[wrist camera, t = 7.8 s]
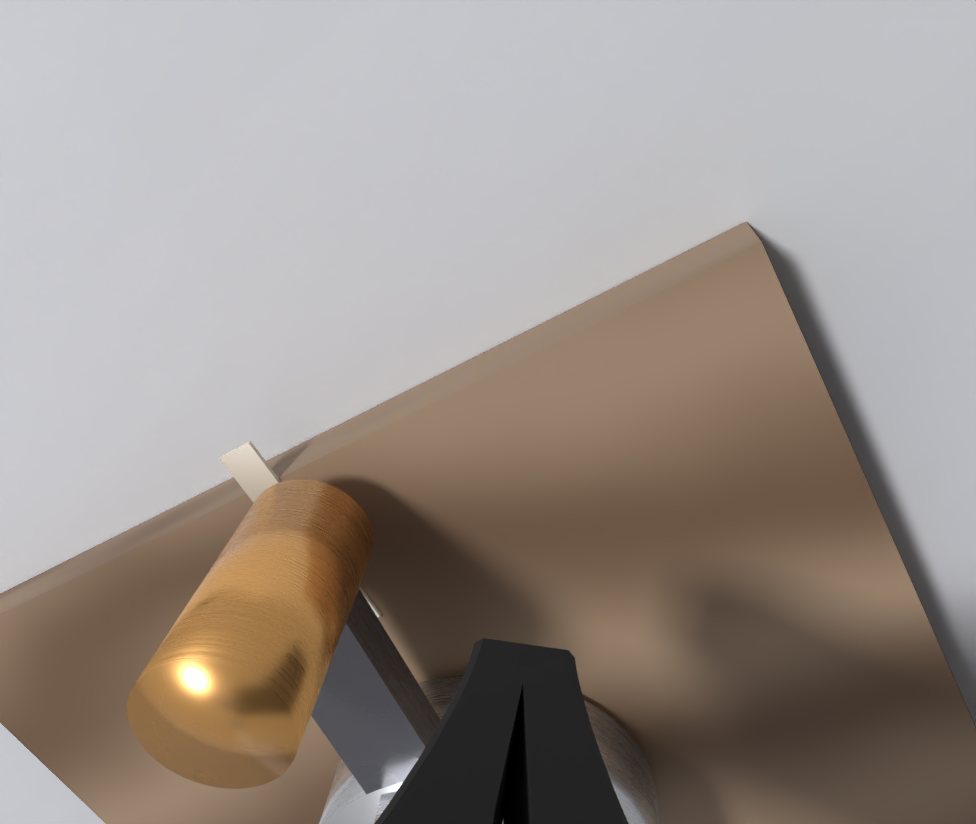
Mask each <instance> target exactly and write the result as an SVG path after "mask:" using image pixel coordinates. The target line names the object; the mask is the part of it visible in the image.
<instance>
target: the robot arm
mask: <svg viewBox="0 0 976 824" xmlns="http://www.w3.org/2000/svg"><path fill="white" fill-rule="evenodd" d="M502 823H503V824H629V823H628V821H627V819H626V816H625V814H624V812H623V809H622V807H621V805H620V802H619V800H618V797H617V795H616V792H615V790H614V787H613V785H612V782H611V779H610V777H609V774H608V771H607V769H606V766H605V763H604V761H603V758H602V755H601V753H600V750H599V747H598V744H597V741H596V738H595V736H594V733H593V729H592V726H591V723H590V720H589V716H588V713H587V710H586V707H585V703H584V699H583V695H582V692H581V688H580V683H579V679H578V674H577V669H576V663H575V657H574V656H573V655H572V654H571V653H570V651H569V650H564V649H557V648H550V647H543V646H536V645H529V644H521V643H514V642H507V641H500V640H493V639H486V638H483V639H481V640H479V641H477V642H476V643H474V647H473V650H472V654H471V657H470V660H469V663H468V665H467V668H466V670H465V673H464V675H463V677H462V680H461V682H460V684H459V686H458V688H457V690H456V692H455V694H454V696H453V698H452V700H451V702H450V704H449V706H448V708H447V710H446V712H445V714H444V716H443V717H442V719H441V721H440V723H439V724H438V726H437V728H436V730H435V731H434V733H433V735H432V737H431V739H430V740H429V742H428V744H427V746H426V747H425V749H424V751H423V752H422V754H421V756H420V757H419V759H418V760H417V762H416V763H415V765H414V766H413V768H412V769H411V771H410V772H409V774H408V775H407V777H406V778H405V780H404V781H403V783H402V784H401V786H400V787H399V789H398V791H397V792H396V794H395V795H394V797H393V798H392V800H391V801H390V803H389V804H388V805H387V807H386V808H385V810H384V811H383V812H382V814H381V815H380V816H379V818H378V819H377V821H376V822H375V823H374V824H502Z"/></svg>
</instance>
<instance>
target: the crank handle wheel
mask: <svg viewBox="0 0 976 824" xmlns="http://www.w3.org/2000/svg"><path fill="white" fill-rule="evenodd" d="M373 550H374V533H373V528H372V525H371V523H370V520H369V518H368V516H367V515H366V513H365V512H364V510H363V509H362V508H361V506H360V505H359V504H358V503H357V502H356V501H355V500H354V499H353V498H352V497H350V496H349V495H348V494H346V493H345V492H343V491H342V490H340V489H338V488H336V487H334V486H332V485H330V484H327V483H324V482H320V481H316V480H310V479H292V480H286V481H283V482H279V483H277V484H275V485H272V486H271V487H269V488H268V489H266V490H265V491H264V492H262V493H261V494H260V495H259V497H258V498H257V499H256V500H255V502H254V503H253V505H252V507H251V508H250V510H249V511H248V513H247V514H246V516H245V517H244V519H243V520H242V522H241V523H240V525H239V526H238V528H237V529H236V531H235V532H234V534H233V535H232V537H231V538H230V540H229V542H228V543H227V545H226V546H225V548H224V549H223V551H222V552H221V554H220V555H219V557H218V558H217V560H216V561H215V563H214V564H213V566H212V567H211V569H210V570H209V572H208V573H207V575H206V576H205V578H204V580H203V581H202V583H201V584H200V586H199V587H198V589H197V590H196V592H195V593H194V595H193V596H192V598H191V599H190V601H189V602H188V604H187V605H186V607H185V608H184V610H183V611H182V613H181V615H180V616H179V618H178V619H177V621H176V622H175V624H174V625H173V627H172V628H171V630H170V631H169V633H168V634H167V636H166V637H165V639H164V640H163V642H162V643H161V645H160V646H159V648H158V650H157V651H156V653H155V654H154V656H153V657H152V659H151V660H150V662H149V663H148V665H147V666H146V668H145V669H144V671H143V672H142V674H141V675H140V677H139V678H138V680H137V681H136V683H135V685H134V686H133V688H132V690H131V691H130V694H129V697H128V703H127V715H128V720H129V724H130V726H131V729H132V731H133V733H134V735H135V737H136V738H137V740H138V741H139V743H140V744H141V745H142V747H143V748H144V749H145V750H146V751H147V752H148V753H149V754H150V755H151V756H152V757H153V758H154V759H155V760H156V761H157V762H159V763H160V764H162V765H163V766H164V767H166V768H167V769H169V770H171V771H172V772H174V773H176V774H178V775H180V776H182V777H184V778H186V779H189V780H191V781H194V782H197V783H200V784H203V785H207V786H212V787H217V788H226V789H243V788H251V787H256V786H260V785H263V784H266V783H268V782H271V781H273V780H275V779H276V778H278V777H279V776H281V775H282V774H283V773H284V772H285V771H286V770H287V769H288V768H289V767H290V765H291V764H292V762H293V760H294V758H295V756H296V753H297V751H298V748H299V746H300V743H301V740H302V738H303V735H304V732H305V730H306V727H307V725H308V722H309V719H310V717H311V716H312V717H313V719H314V720H315V722H316V723H317V724H318V726H319V727H320V729H321V730H322V732H323V733H324V734H325V736H326V737H327V739H328V740H329V742H330V743H331V744H332V746H333V747H334V749H335V750H336V752H337V753H338V754H339V756H340V760H339V764H338V767H337V770H336V773H335V776H334V779H333V782H332V785H331V789H330V792H329V795H328V798H327V801H326V804H325V807H324V810H323V814H322V817H321V820H320V823H319V824H374V823H375V822H376V821H377V819H378V818H379V816H380V815H381V814H382V812H383V811H384V810H385V808H386V807H387V805H388V804H389V803H390V801H391V800H392V798H393V797H394V795H395V794H396V792H397V791H398V789H399V787H400V786H401V784H402V783H403V781H404V780H405V778H406V777H407V775H408V774H409V772H410V771H411V769H412V768H413V766H414V765H415V763H416V762H417V760H418V759H419V757H420V756H421V754H422V752H423V751H424V749H425V747H426V746H427V744H428V742H429V740H430V739H431V737H432V735H433V733H434V731H435V730H436V728H437V726H438V724H439V723H440V721H441V719H442V717H443V716H444V714H445V712H446V710H447V708H448V706H449V704H450V702H451V700H452V698H453V696H454V694H455V692H456V690H457V688H458V686H459V684H460V682H461V680H462V677H463V675H457V676H447V677H442V678H437V679H432V680H428V681H424V682H421V683H418V682H417V681H416V679H415V677H414V676H413V674H412V673H411V671H410V669H409V668H408V666H407V665H406V663H405V661H404V660H403V658H402V656H401V655H400V653H399V652H398V650H397V648H396V647H395V645H394V644H393V642H392V640H391V639H390V637H389V635H388V634H387V632H386V631H385V629H384V627H383V626H382V624H381V623H380V621H379V619H378V618H377V616H376V614H375V613H374V611H373V610H372V608H371V606H370V605H369V603H368V601H367V600H366V598H365V597H364V595H363V593H362V592H361V590H360V589H359V588H360V585H361V583H362V580H363V577H364V575H365V572H366V570H367V567H368V564H369V562H370V559H371V556H372V553H373ZM584 703H585V707H586V710H587V713H588V716H589V720H590V723H591V726H592V729H593V733H594V736H595V738H596V741H597V744H598V747H599V750H600V753H601V755H602V758H603V761H604V763H605V766H606V769H607V771H608V774H609V777H610V779H611V782H612V785H613V787H614V790H615V792H616V795H617V797H618V800H619V802H620V805H621V807H622V809H623V812H624V814H625V816H626V819H627V821H628V823H629V824H659V814H658V803H657V793H656V786H655V782H654V777H653V773H652V771H651V768H650V766H649V763H648V761H647V759H646V757H645V756H644V754H643V752H642V751H641V749H640V747H639V746H638V744H637V743H636V742H635V741H634V740H633V738H632V737H631V736H630V735H629V734H628V732H627V731H626V730H625V729H623V728H622V727H621V726H620V725H619V724H618V723H617V722H616V721H615V720H614V719H613V718H611V717H610V716H608V715H607V714H606V713H604V712H603V711H601V710H600V709H599V708H597V707H596V706H594V705H592V704H590V703H588V702H587V701H585V700H584ZM502 824H503V823H502Z"/></svg>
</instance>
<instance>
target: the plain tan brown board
mask: <svg viewBox="0 0 976 824" xmlns="http://www.w3.org/2000/svg"><path fill="white" fill-rule="evenodd" d="M219 459H220V460H221V462H222V463H223V464H224V466H225V467H226V468H227V469H228V471H229V472H230V473H231V474H232V476H233V477H234V478H232V479H230V480H228V481H226V482H224V483H222V484H220V485H218V486H216V487H214V488H212V489H210V490H208V491H206V492H204V493H202V494H200V495H198V496H196V497H194V498H192V499H190V500H188V501H186V502H184V503H182V504H180V505H178V506H176V507H174V508H172V509H170V510H168V511H166V512H164V513H162V514H160V515H158V516H156V517H154V518H152V519H150V520H148V521H146V522H144V523H142V524H139V525H137V526H135V527H133V528H131V529H129V530H127V531H125V532H123V533H121V534H119V535H117V536H115V537H113V538H111V539H109V540H107V541H105V542H103V543H101V544H99V545H97V546H95V547H93V548H91V549H89V550H87V551H85V552H83V553H81V554H79V555H77V556H75V557H73V558H71V559H69V560H67V561H65V562H63V563H61V564H59V565H57V566H55V567H53V568H51V569H49V570H47V571H45V572H43V573H41V574H39V575H37V576H35V577H33V578H31V579H29V580H27V581H25V582H23V583H21V584H19V585H17V586H15V587H13V588H11V589H9V590H7V591H5V592H3V593H1V594H0V723H1V724H2V725H3V726H4V727H5V728H6V729H7V730H9V731H10V732H11V733H12V734H13V735H14V736H15V737H16V738H17V739H18V740H19V741H20V742H21V743H22V744H23V745H24V746H25V747H26V748H27V749H28V750H29V751H30V752H32V753H33V754H34V755H35V756H36V757H37V758H38V759H39V760H40V761H41V762H42V763H43V764H44V765H45V766H46V767H47V768H48V769H49V770H50V771H51V772H52V773H54V774H55V775H56V776H57V777H58V778H59V779H60V780H61V781H62V782H63V783H64V784H65V785H66V786H67V787H68V788H69V789H70V790H71V791H72V792H73V793H74V794H75V795H77V796H78V797H79V798H80V799H81V800H82V801H83V802H84V803H85V804H86V805H87V806H88V807H89V808H90V809H91V810H92V811H93V812H94V813H95V814H96V815H97V816H98V817H100V818H101V819H102V820H103V821H104V822H105V823H106V824H319V823H320V820H321V817H322V814H323V810H324V807H325V804H326V801H327V798H328V795H329V792H330V789H331V785H332V782H333V779H334V776H335V773H336V770H337V767H338V764H339V760H340V756H339V754H338V753H337V752H336V750H335V749H334V747H333V746H332V744H331V743H330V742H329V740H328V739H327V737H326V736H325V734H324V733H323V732H322V730H321V729H320V727H319V726H318V724H317V723H316V722H315V720H314V719H313V717H312V716H311V717H310V719H309V722H308V725H307V727H306V730H305V732H304V735H303V738H302V740H301V743H300V746H299V748H298V751H297V753H296V756H295V758H294V760H293V762H292V764H291V765H290V767H289V768H288V769H287V770H286V771H285V772H284V773H283V774H282V775H281V776H279V777H278V778H276V779H275V780H273V781H271V782H268V783H266V784H263V785H260V786H256V787H251V788H243V789H226V788H217V787H212V786H207V785H203V784H200V783H197V782H194V781H191V780H189V779H186V778H184V777H182V776H180V775H178V774H176V773H174V772H172V771H171V770H169V769H167V768H166V767H164V766H163V765H162V764H160V763H159V762H157V761H156V760H155V759H154V758H153V757H152V756H151V755H150V754H149V753H148V752H147V751H146V750H145V749H144V748H143V747H142V745H141V744H140V743H139V741H138V740H137V738H136V737H135V735H134V733H133V731H132V729H131V726H130V724H129V720H128V715H127V703H128V697H129V694H130V691H131V690H132V688H133V686H134V685H135V683H136V681H137V680H138V678H139V677H140V675H141V674H142V672H143V671H144V669H145V668H146V666H147V665H148V663H149V662H150V660H151V659H152V657H153V656H154V654H155V653H156V651H157V650H158V648H159V646H160V645H161V643H162V642H163V640H164V639H165V637H166V636H167V634H168V633H169V631H170V630H171V628H172V627H173V625H174V624H175V622H176V621H177V619H178V618H179V616H180V615H181V613H182V611H183V610H184V608H185V607H186V605H187V604H188V602H189V601H190V599H191V598H192V596H193V595H194V593H195V592H196V590H197V589H198V587H199V586H200V584H201V583H202V581H203V580H204V578H205V576H206V575H207V573H208V572H209V570H210V569H211V567H212V566H213V564H214V563H215V561H216V560H217V558H218V557H219V555H220V554H221V552H222V551H223V549H224V548H225V546H226V545H227V543H228V542H229V540H230V538H231V537H232V535H233V534H234V532H235V531H236V529H237V528H238V526H239V525H240V523H241V522H242V520H243V519H244V517H245V516H246V514H247V513H248V511H249V510H250V508H251V507H252V505H253V503H254V502H255V500H256V499H257V498H258V497H259V495H260V494H261V493H262V492H264V491H265V490H266V489H268V488H269V487H271V486H272V485H275V484H277V483H279V482H283V481H286V480H292V479H310V480H316V481H320V482H324V483H327V484H330V485H332V486H334V487H336V488H338V489H340V490H342V491H343V492H345V493H346V494H348V495H349V496H350V497H352V498H353V499H354V500H355V501H356V502H357V503H358V504H359V505H360V506H361V508H362V509H363V510H364V512H365V513H366V515H367V516H368V518H369V520H370V523H371V525H372V528H373V533H374V550H373V553H372V556H371V559H370V562H369V564H368V567H367V570H366V572H365V575H364V577H363V580H362V583H361V585H360V588H359V589H360V590H361V592H362V593H363V595H364V597H365V598H366V600H367V601H368V603H369V605H370V606H371V608H372V610H373V611H374V613H375V614H376V616H377V618H378V619H379V621H380V623H381V624H382V626H383V627H384V629H385V631H386V632H387V634H388V635H389V637H390V639H391V640H392V642H393V644H394V645H395V647H396V648H397V650H398V652H399V653H400V655H401V656H402V658H403V660H404V661H405V663H406V665H407V666H408V668H409V669H410V671H411V673H412V674H413V676H414V677H415V679H416V681H417V682H418V683H421V682H424V681H428V680H432V679H437V678H442V677H447V676H457V675H464V673H465V670H466V668H467V665H468V663H469V660H470V657H471V654H472V650H473V647H474V643H476V642H477V641H479V640H481V639H483V638H486V639H493V640H500V641H507V642H514V643H521V644H529V645H536V646H543V647H550V648H557V649H564V650H569V651H570V653H571V654H572V655H573V656H574V657H575V663H576V669H577V674H578V679H579V683H580V688H581V692H582V695H583V699H584V700H585V701H587V702H588V703H590V704H592V705H594V706H596V707H597V708H599V709H600V710H601V711H603V712H604V713H606V714H607V715H608V716H610V717H611V718H613V719H614V720H615V721H616V722H617V723H618V724H619V725H620V726H621V727H622V728H623V729H625V730H626V731H627V732H628V734H629V735H630V736H631V737H632V738H633V740H634V741H635V742H636V743H637V744H638V746H639V747H640V749H641V751H642V752H643V754H644V756H645V757H646V759H647V761H648V763H649V766H650V768H651V771H652V773H653V777H654V782H655V786H656V793H657V803H658V814H659V824H976V727H975V725H974V722H973V720H972V718H971V716H970V713H969V711H968V709H967V707H966V704H965V702H964V700H963V697H962V695H961V693H960V691H959V688H958V686H957V684H956V682H955V679H954V677H953V675H952V672H951V670H950V668H949V666H948V663H947V661H946V659H945V657H944V654H943V652H942V650H941V648H940V645H939V643H938V641H937V638H936V636H935V634H934V632H933V629H932V627H931V625H930V623H929V620H928V618H927V616H926V613H925V611H924V609H923V607H922V604H921V602H920V600H919V598H918V595H917V593H916V591H915V589H914V586H913V584H912V582H911V579H910V577H909V575H908V573H907V570H906V568H905V566H904V564H903V561H902V559H901V557H900V555H899V552H898V550H897V548H896V545H895V543H894V541H893V539H892V536H891V534H890V532H889V530H888V527H887V525H886V523H885V520H884V518H883V516H882V514H881V511H880V509H879V507H878V505H877V502H876V500H875V498H874V496H873V493H872V491H871V489H870V486H869V484H868V482H867V480H866V477H865V475H864V473H863V471H862V468H861V466H860V464H859V461H858V459H857V457H856V455H855V452H854V450H853V448H852V446H851V443H850V441H849V439H848V437H847V434H846V432H845V430H844V427H843V425H842V423H841V421H840V418H839V416H838V414H837V412H836V409H835V407H834V405H833V403H832V400H831V398H830V396H829V393H828V391H827V389H826V387H825V384H824V382H823V380H822V378H821V375H820V373H819V371H818V368H817V366H816V364H815V362H814V359H813V357H812V355H811V353H810V350H809V348H808V346H807V344H806V341H805V339H804V337H803V334H802V332H801V330H800V328H799V325H798V323H797V321H796V319H795V316H794V314H793V312H792V309H791V307H790V305H789V303H788V300H787V298H786V296H785V294H784V291H783V289H782V287H781V285H780V282H779V280H778V278H777V275H776V273H775V271H774V269H773V266H772V264H771V262H770V260H769V257H768V255H767V253H766V251H765V248H764V246H763V244H762V242H761V240H760V239H759V238H758V236H757V235H756V234H755V232H754V231H753V230H752V229H751V227H750V226H749V225H748V223H747V222H744V223H742V224H740V225H738V226H736V227H734V228H732V229H730V230H728V231H726V232H724V233H722V234H720V235H718V236H716V237H714V238H712V239H710V240H708V241H706V242H704V243H702V244H700V245H698V246H696V247H694V248H692V249H690V250H688V251H686V252H684V253H682V254H680V255H678V256H676V257H674V258H672V259H670V260H668V261H666V262H664V263H662V264H660V265H658V266H656V267H654V268H652V269H650V270H648V271H646V272H644V273H642V274H640V275H638V276H636V277H634V278H632V279H630V280H628V281H626V282H624V283H622V284H620V285H618V286H616V287H614V288H612V289H610V290H608V291H606V292H604V293H602V294H600V295H598V296H596V297H594V298H592V299H590V300H588V301H586V302H584V303H582V304H580V305H578V306H576V307H574V308H572V309H570V310H568V311H566V312H564V313H562V314H560V315H558V316H556V317H554V318H552V319H550V320H548V321H546V322H544V323H542V324H540V325H538V326H536V327H534V328H532V329H530V330H528V331H526V332H524V333H522V334H520V335H518V336H516V337H514V338H512V339H510V340H508V341H506V342H504V343H502V344H500V345H498V346H496V347H494V348H492V349H490V350H488V351H486V352H484V353H482V354H480V355H478V356H476V357H474V358H472V359H470V360H468V361H466V362H464V363H462V364H460V365H458V366H456V367H454V368H452V369H450V370H448V371H446V372H444V373H442V374H440V375H438V376H436V377H434V378H432V379H430V380H428V381H426V382H424V383H422V384H420V385H418V386H416V387H414V388H412V389H410V390H408V391H406V392H404V393H402V394H400V395H398V396H396V397H394V398H392V399H390V400H388V401H386V402H384V403H382V404H380V405H378V406H376V407H374V408H372V409H370V410H368V411H366V412H364V413H362V414H360V415H358V416H356V417H354V418H352V419H350V420H348V421H346V422H344V423H342V424H340V425H338V426H336V427H334V428H332V429H330V430H328V431H326V432H324V433H322V434H320V435H318V436H316V437H314V438H312V439H310V440H308V441H306V442H304V443H302V444H300V445H298V446H296V447H294V448H292V449H290V450H288V451H286V452H284V453H282V454H280V455H278V456H276V457H274V458H272V459H270V460H268V461H265V460H264V458H263V457H262V456H261V454H260V453H259V452H258V450H257V449H256V448H255V446H254V445H253V444H252V442H251V441H249V442H247V443H245V444H243V445H242V446H240V447H238V448H236V449H234V450H232V451H230V452H228V453H226V454H224V455H222V456H221V457H220V458H219Z"/></svg>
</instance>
